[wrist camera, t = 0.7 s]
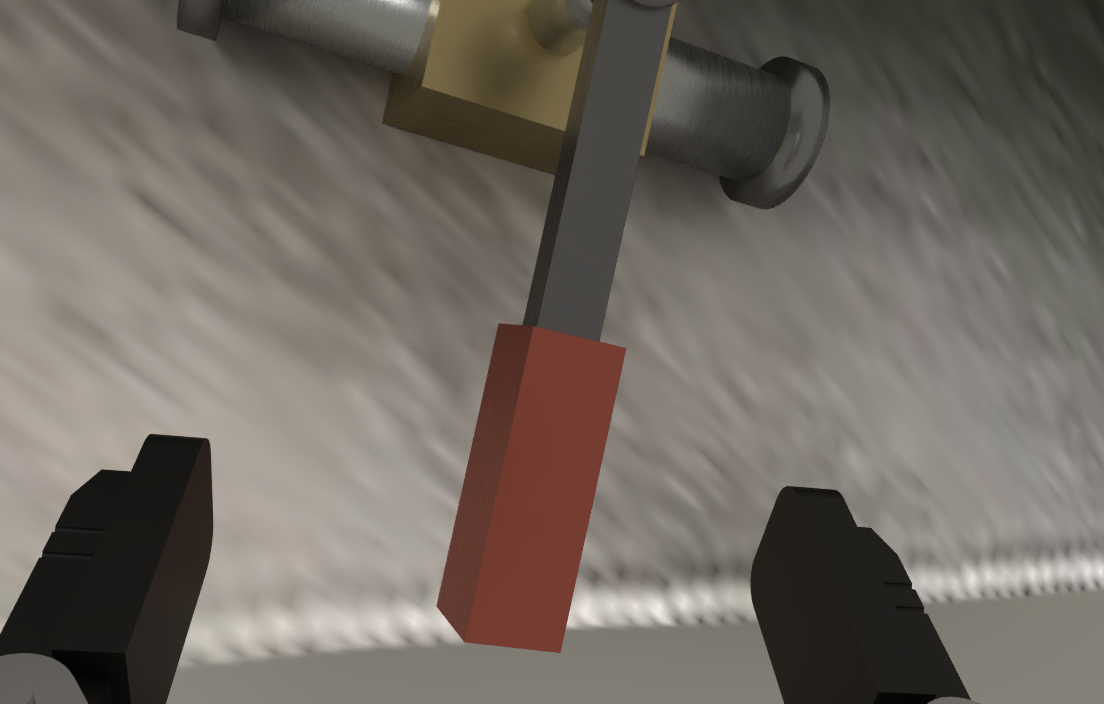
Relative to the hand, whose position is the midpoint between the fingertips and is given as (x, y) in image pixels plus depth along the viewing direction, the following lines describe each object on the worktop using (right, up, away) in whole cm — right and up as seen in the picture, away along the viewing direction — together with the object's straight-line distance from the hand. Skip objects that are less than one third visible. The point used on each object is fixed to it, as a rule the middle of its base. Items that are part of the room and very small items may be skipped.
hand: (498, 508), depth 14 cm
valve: (-1, +14, +25) cm, 29 cm away
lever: (+1, +5, +14) cm, 15 cm away
